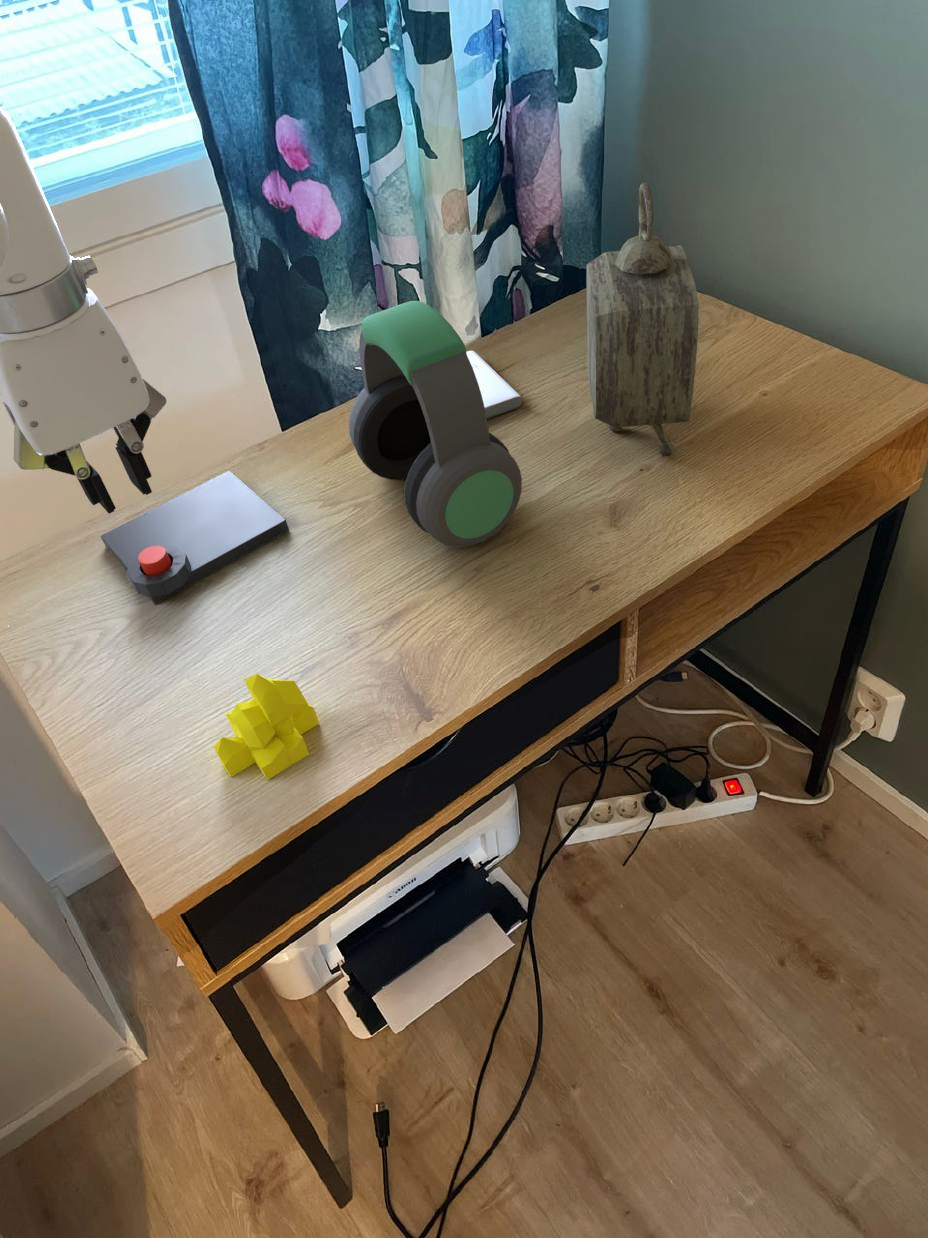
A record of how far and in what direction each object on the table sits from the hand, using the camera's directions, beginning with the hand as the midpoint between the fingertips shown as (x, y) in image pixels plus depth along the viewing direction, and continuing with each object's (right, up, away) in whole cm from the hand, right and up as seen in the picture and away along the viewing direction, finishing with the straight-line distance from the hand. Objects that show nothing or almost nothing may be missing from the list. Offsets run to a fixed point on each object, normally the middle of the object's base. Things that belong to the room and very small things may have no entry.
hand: (123, 494), depth 78 cm
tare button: (+1, -6, +6) cm, 9 cm away
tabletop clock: (+48, +10, +18) cm, 52 cm away
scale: (+3, -3, +13) cm, 13 cm away
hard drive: (+30, +15, +26) cm, 43 cm away
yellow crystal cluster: (+14, -21, -7) cm, 26 cm away
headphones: (+27, +1, +13) cm, 30 cm away
